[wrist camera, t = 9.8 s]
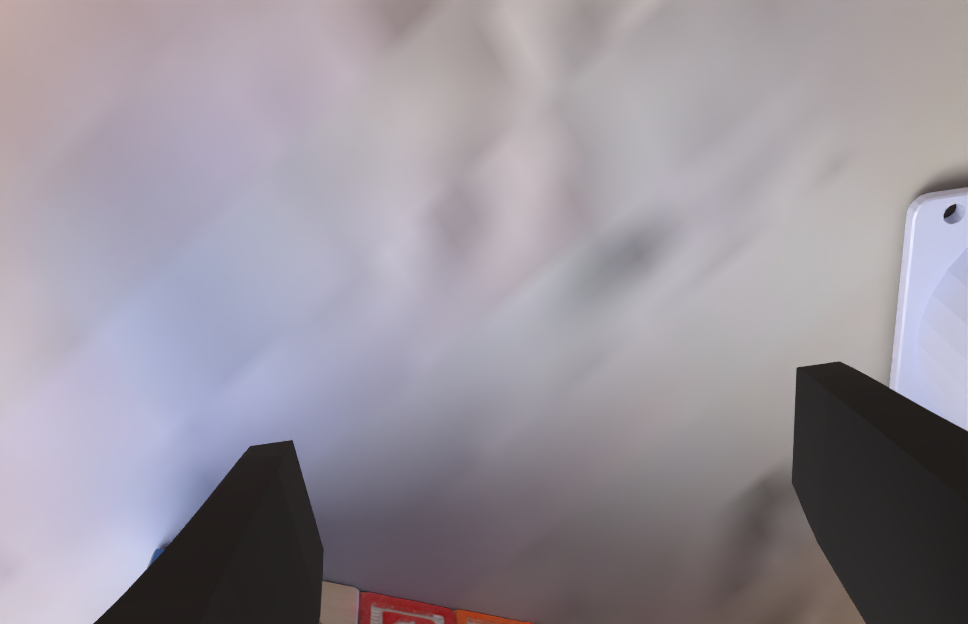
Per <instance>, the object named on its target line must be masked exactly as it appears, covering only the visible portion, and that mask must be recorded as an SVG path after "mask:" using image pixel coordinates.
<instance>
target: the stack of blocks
mask: <svg viewBox="0 0 968 624" xmlns="http://www.w3.org/2000/svg"><path fill="white" fill-rule="evenodd" d="M164 550H165V549H156V550H155V551H154V553H153V555H152V558H151V560H150V563H149V565H148V567H149V566H150V565H151V564H152V563H153V562H154V561H155V560H156V559H157V558H158V556H159V555H160V554H161V553H162V552H163V551H164ZM319 624H533V623H530V622H520V621H516V620H509V619H505V618H502V617H497V616H491V615H486V614H481V613H476V612H471V611H466V610H461V609H458V610H451V609H449V608H446V607H440V606H435V605H430V604H426V603H422V602H417V601H412V600H407V599H401V598H395V597H391V596H387V595H381V594H376V593H371V592H360V591H359V590H358V589H356V588H355V587H351V586H346V585H341V584H335V583H330V582H325V581H322V596H321V614H320V620H319Z"/></svg>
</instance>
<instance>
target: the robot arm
mask: <svg viewBox="0 0 968 624" xmlns="http://www.w3.org/2000/svg"><path fill="white" fill-rule="evenodd" d="M953 204H956V209H955V212H954V213H953V214H952V215H951V216H949V217H946V218H944V217H943V215H944V213H945V210H946V209H947V208H948V207H949V206H951V205H953ZM792 484H793V486H794V489H795V491H796V493H797V496H798V498H799V501H800V503H801V506H802V508H803V510H804V513H805V515H806V517H807V520H808V522H809V524H810V526H811V529H812V531H813V533H814V535H815V538H816V540H817V542H818V544H819V546H820V547H821V549H822V551H823V553H824V554H825V556H826V558H827V559H828V561H829V563H830V564H831V566H832V568H833V570H834V571H835V573H836V575H837V576H838V578H839V580H840V581H841V583H842V585H843V586H844V588H845V590H846V591H847V593H848V595H849V596H850V598H851V599H852V601H853V603H854V604H855V606H856V608H857V609H858V611H859V613H860V614H861V616H862V618H863V619H864V621H865V622H866V624H968V187H965V188H958V189H951V190H944V191H938V192H931V193H927V194H923V195H921V196H919V197H918V198H917V199H915V200H914V201H913V202H912V204H911V205H910V206H909V208H908V212H907V216H906V226H905V235H904V245H903V255H902V265H901V275H900V285H899V295H898V305H897V315H896V325H895V335H894V345H893V355H892V365H891V375H890V385H889V387H887V386H885V385H883V384H881V383H880V382H878V381H876V380H874V379H872V378H871V377H869V376H867V375H865V374H863V373H861V372H860V371H858V370H856V369H854V368H852V367H850V366H848V365H846V364H844V363H842V362H833V363H826V364H819V365H812V366H805V367H798V368H797V373H796V397H795V421H794V445H793V468H792ZM322 575H323V546H322V543H321V539H320V536H319V532H318V529H317V525H316V521H315V518H314V514H313V511H312V507H311V504H310V500H309V497H308V493H307V490H306V486H305V483H304V479H303V475H302V472H301V468H300V465H299V461H298V458H297V454H296V451H295V447H294V444H293V440H290V441H283V442H276V443H269V444H262V445H255V446H250V447H249V448H248V449H247V451H246V452H245V453H244V454H243V455H242V457H241V458H240V459H239V460H238V462H237V463H236V464H235V465H234V467H233V468H232V469H231V470H230V471H229V473H228V474H227V475H226V476H225V478H224V479H223V480H222V481H221V483H220V484H219V485H218V486H217V488H216V489H215V490H214V491H213V493H212V494H211V495H210V496H209V498H208V499H207V500H206V501H205V503H204V504H203V505H202V506H201V508H200V509H199V510H198V511H197V512H196V514H195V515H194V516H193V517H192V518H191V520H190V521H189V522H188V523H187V524H186V526H185V527H184V528H183V529H182V530H181V532H180V533H179V534H178V535H177V536H176V538H175V539H174V540H173V541H172V542H171V543H170V545H169V546H168V547H167V548H166V549H165V550H164V551H163V552H162V553H161V554H160V555H159V556H158V558H157V559H156V560H155V561H154V562H153V563H152V564H151V565H150V566H149V567H148V568H147V570H146V571H145V572H144V573H143V574H142V575H141V576H140V577H139V578H138V579H137V580H136V581H135V583H134V584H133V585H132V586H131V587H130V588H129V589H128V590H127V591H126V592H125V593H124V594H123V595H122V596H121V597H120V598H119V599H118V600H117V601H116V602H115V603H114V604H113V605H112V606H111V607H110V608H109V609H108V610H107V611H106V612H105V613H104V614H103V615H102V616H101V617H100V618H99V619H98V620H97V621H96V622H95V623H94V624H319V620H320V614H321V596H322Z"/></svg>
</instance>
